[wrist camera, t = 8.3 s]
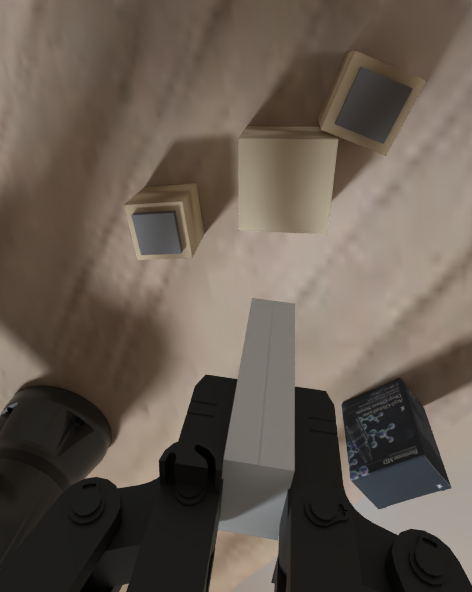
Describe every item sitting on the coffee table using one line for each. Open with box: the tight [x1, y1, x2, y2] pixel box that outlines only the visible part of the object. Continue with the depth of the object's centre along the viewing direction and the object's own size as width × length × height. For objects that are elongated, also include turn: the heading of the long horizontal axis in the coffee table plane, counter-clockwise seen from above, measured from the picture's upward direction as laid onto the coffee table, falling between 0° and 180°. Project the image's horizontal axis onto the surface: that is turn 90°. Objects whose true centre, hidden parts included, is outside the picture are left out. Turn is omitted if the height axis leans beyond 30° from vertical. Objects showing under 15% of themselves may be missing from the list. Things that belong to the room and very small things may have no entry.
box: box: [342, 379, 451, 509], centre depth 43 cm, size 8×6×11 cm
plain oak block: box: [238, 126, 338, 234], centre depth 32 cm, size 7×7×6 cm
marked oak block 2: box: [124, 183, 204, 260], centre depth 36 cm, size 5×5×6 cm
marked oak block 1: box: [318, 51, 426, 156], centre depth 29 cm, size 5×5×6 cm
